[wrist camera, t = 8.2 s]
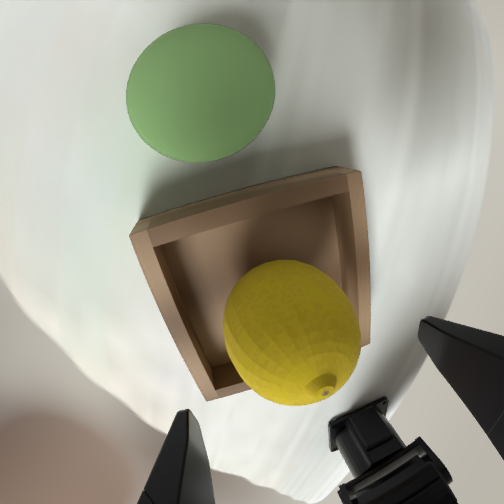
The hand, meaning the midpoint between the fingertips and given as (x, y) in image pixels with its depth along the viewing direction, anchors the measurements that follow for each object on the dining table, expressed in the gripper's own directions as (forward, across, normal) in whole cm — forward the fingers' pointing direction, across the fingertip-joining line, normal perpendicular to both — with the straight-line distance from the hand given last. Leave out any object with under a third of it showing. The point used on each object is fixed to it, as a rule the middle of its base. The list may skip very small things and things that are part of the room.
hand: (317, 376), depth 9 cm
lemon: (+7, 0, 0) cm, 7 cm away
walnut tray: (+8, 0, 0) cm, 8 cm away
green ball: (+8, +1, -10) cm, 12 cm away
